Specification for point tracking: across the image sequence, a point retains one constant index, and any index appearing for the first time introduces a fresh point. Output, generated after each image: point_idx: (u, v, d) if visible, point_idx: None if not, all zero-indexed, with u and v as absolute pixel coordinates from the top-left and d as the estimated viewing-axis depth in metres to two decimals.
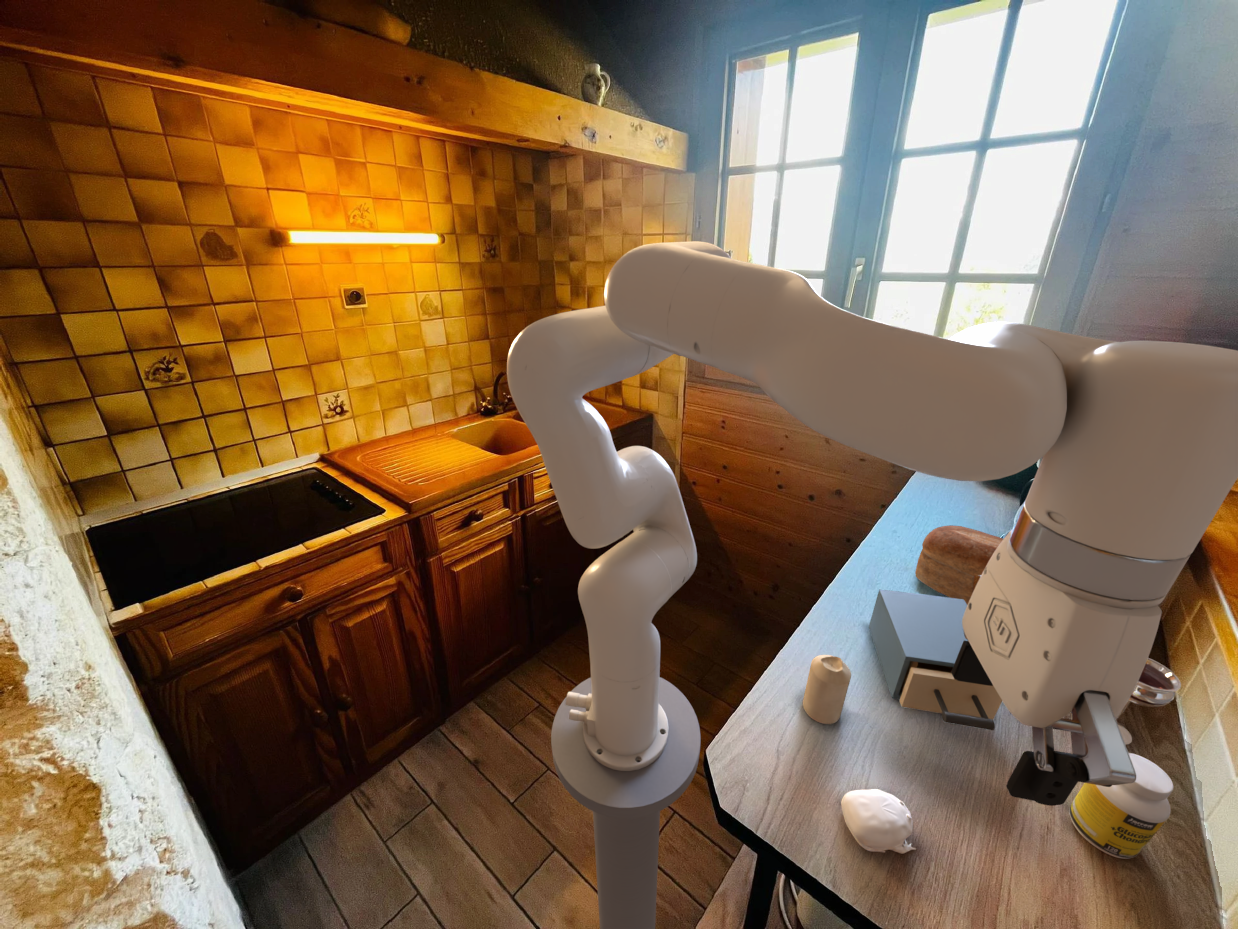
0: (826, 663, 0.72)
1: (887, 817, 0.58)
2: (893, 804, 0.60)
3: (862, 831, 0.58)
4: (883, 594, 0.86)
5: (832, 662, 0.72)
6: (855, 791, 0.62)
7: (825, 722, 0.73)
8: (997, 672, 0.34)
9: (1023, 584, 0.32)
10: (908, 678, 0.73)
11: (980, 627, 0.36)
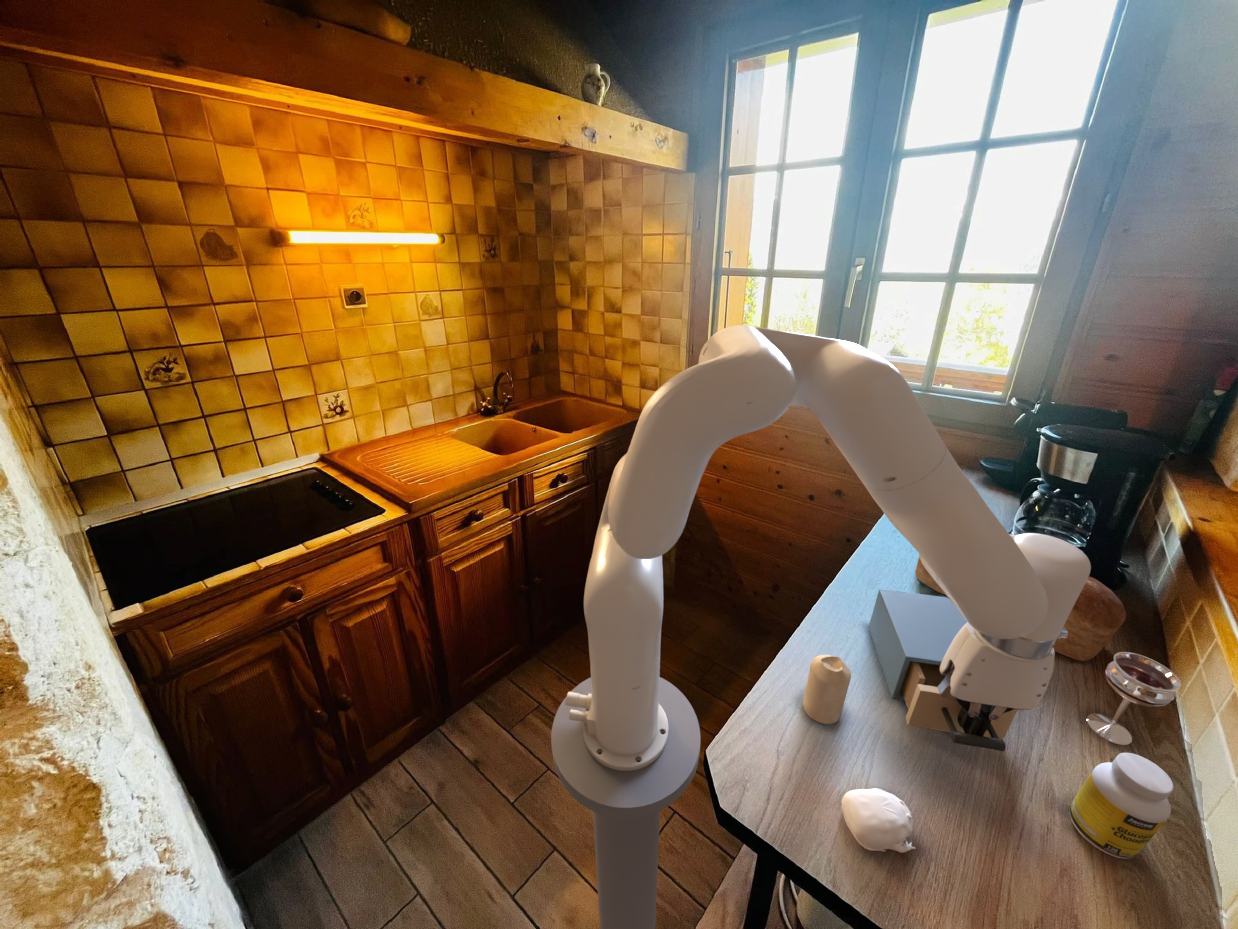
0: (826, 663, 0.72)
1: (887, 817, 0.58)
2: (893, 804, 0.60)
3: (863, 830, 0.58)
4: (883, 594, 0.86)
5: (832, 662, 0.72)
6: (855, 790, 0.62)
7: (825, 722, 0.73)
8: None
9: None
10: (915, 695, 0.71)
11: None
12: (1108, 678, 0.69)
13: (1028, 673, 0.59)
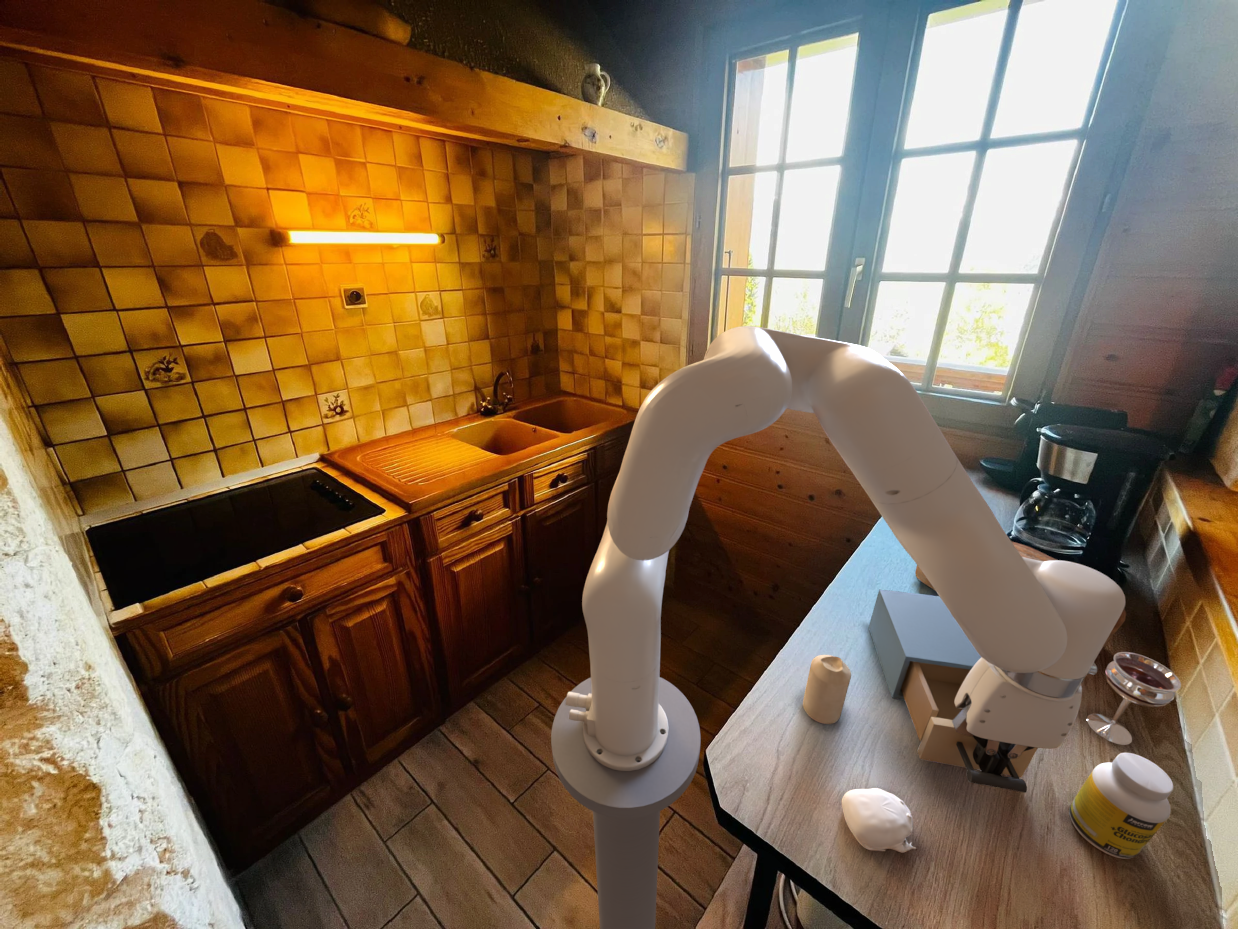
0: (826, 663, 0.72)
1: (887, 816, 0.58)
2: (893, 803, 0.60)
3: (863, 830, 0.58)
4: (883, 594, 0.86)
5: (832, 662, 0.72)
6: (855, 790, 0.62)
7: (825, 722, 0.73)
8: None
9: None
10: (927, 728, 0.66)
11: None
12: (1108, 678, 0.69)
13: (1052, 711, 0.54)
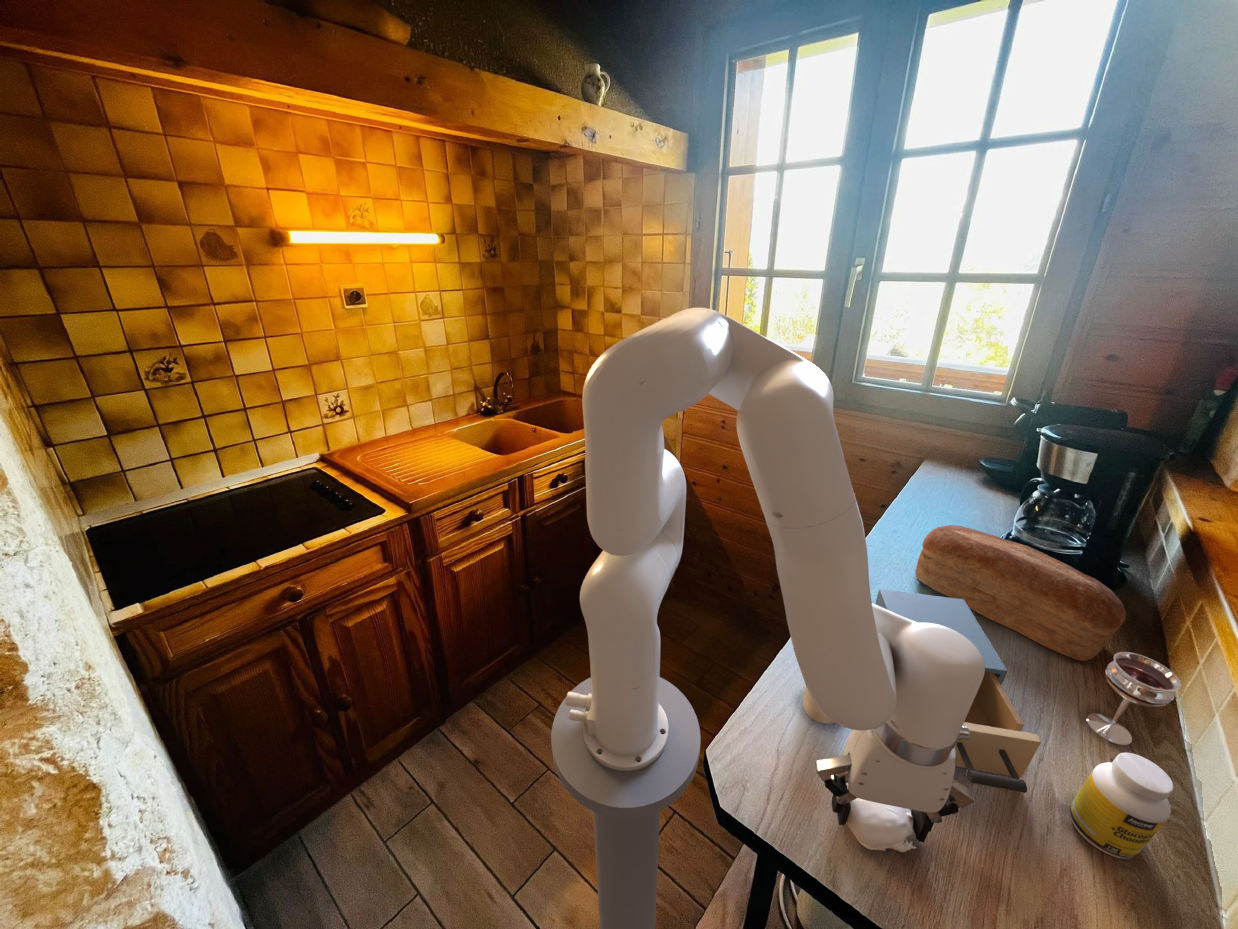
0: None
1: (888, 816, 0.58)
2: None
3: (863, 829, 0.58)
4: (883, 594, 0.86)
5: None
6: None
7: (825, 722, 0.73)
8: None
9: None
10: None
11: None
12: (1108, 678, 0.69)
13: (927, 777, 0.52)
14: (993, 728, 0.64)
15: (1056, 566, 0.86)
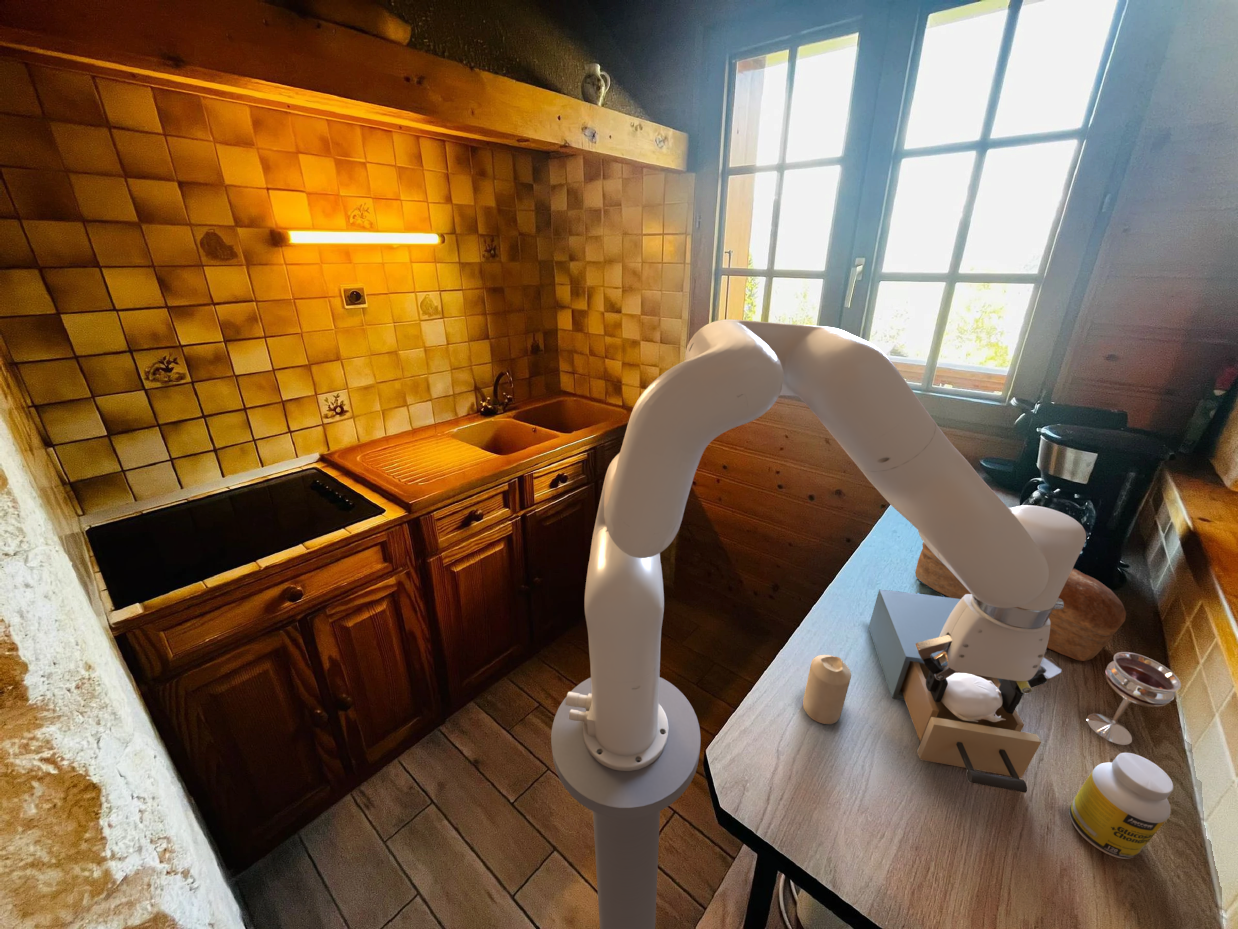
0: (826, 663, 0.72)
1: (980, 691, 0.66)
2: (983, 682, 0.67)
3: (959, 702, 0.65)
4: (883, 594, 0.86)
5: (832, 662, 0.72)
6: None
7: (825, 722, 0.73)
8: None
9: None
10: (927, 729, 0.66)
11: None
12: (1108, 678, 0.69)
13: (1024, 644, 0.60)
14: (993, 728, 0.64)
15: None
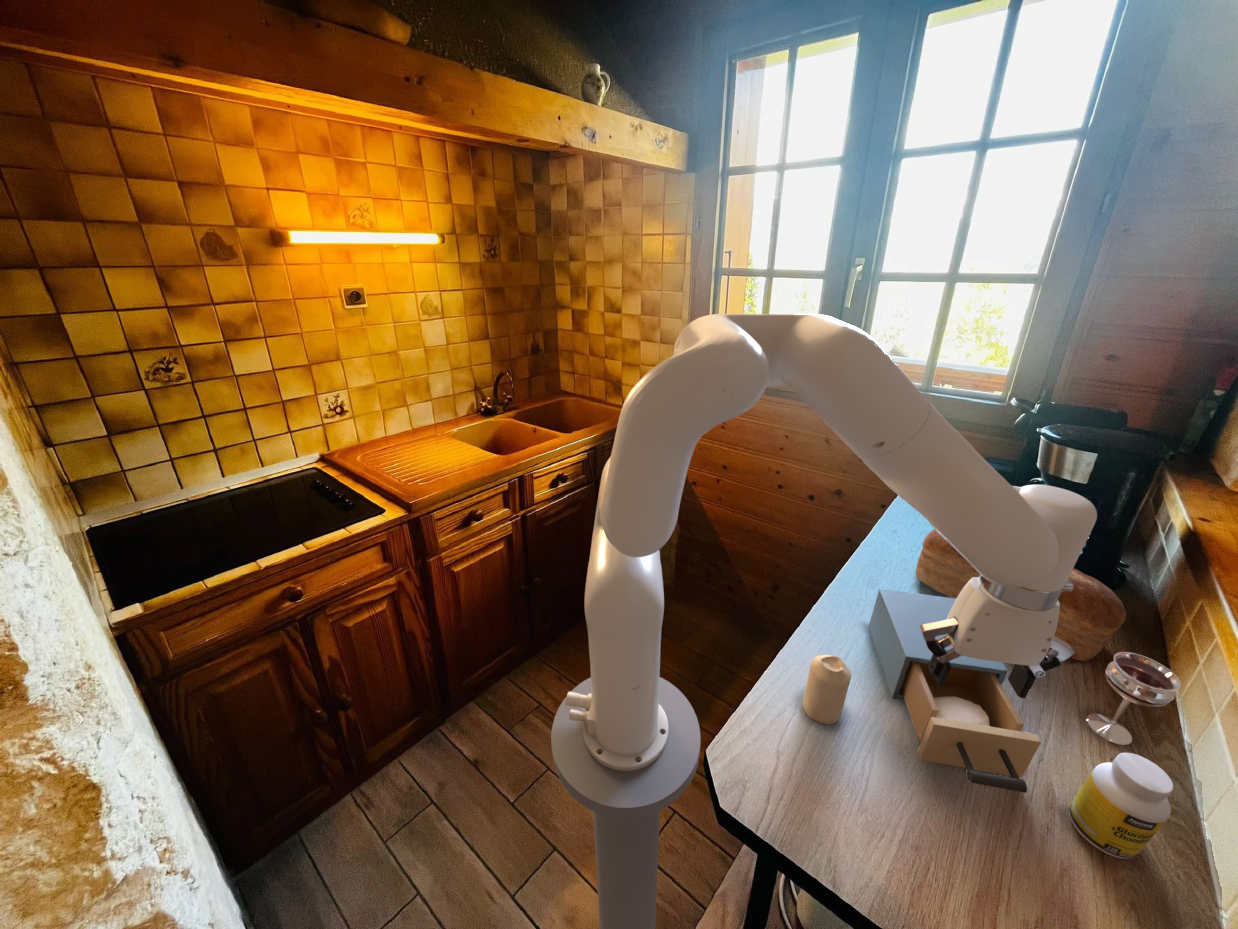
0: (826, 663, 0.72)
1: (968, 715, 0.68)
2: (971, 707, 0.70)
3: None
4: (883, 594, 0.86)
5: (832, 662, 0.72)
6: (936, 697, 0.72)
7: (825, 722, 0.73)
8: None
9: None
10: (927, 729, 0.66)
11: None
12: (1108, 678, 0.69)
13: (1033, 627, 0.59)
14: (993, 728, 0.64)
15: None
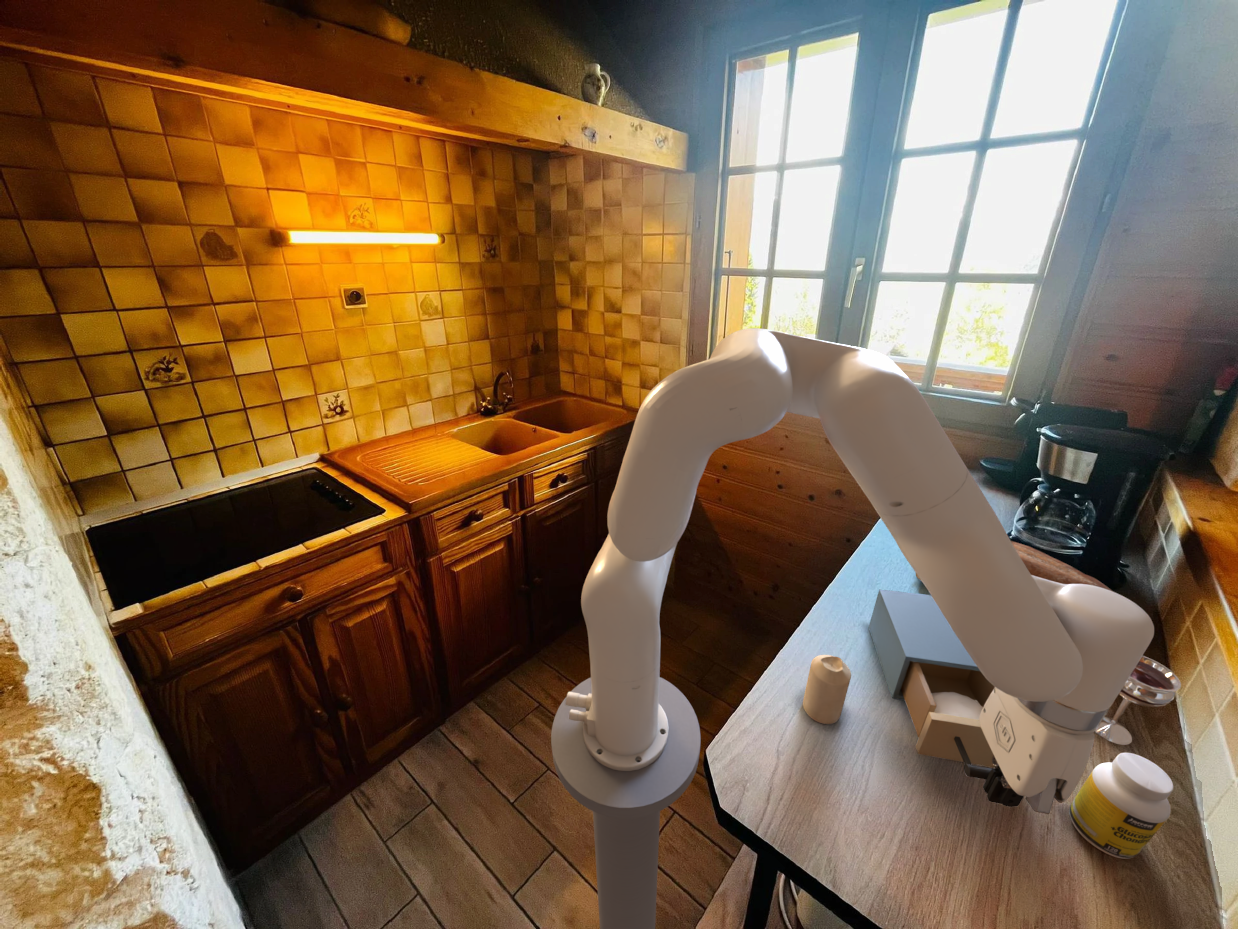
0: (826, 663, 0.72)
1: (965, 710, 0.69)
2: (969, 702, 0.70)
3: None
4: (883, 594, 0.86)
5: (832, 662, 0.72)
6: (934, 693, 0.72)
7: (825, 722, 0.73)
8: (1002, 759, 0.55)
9: (1018, 709, 0.53)
10: (925, 723, 0.67)
11: (991, 727, 0.58)
12: None
13: None
14: None
15: (1057, 566, 0.86)
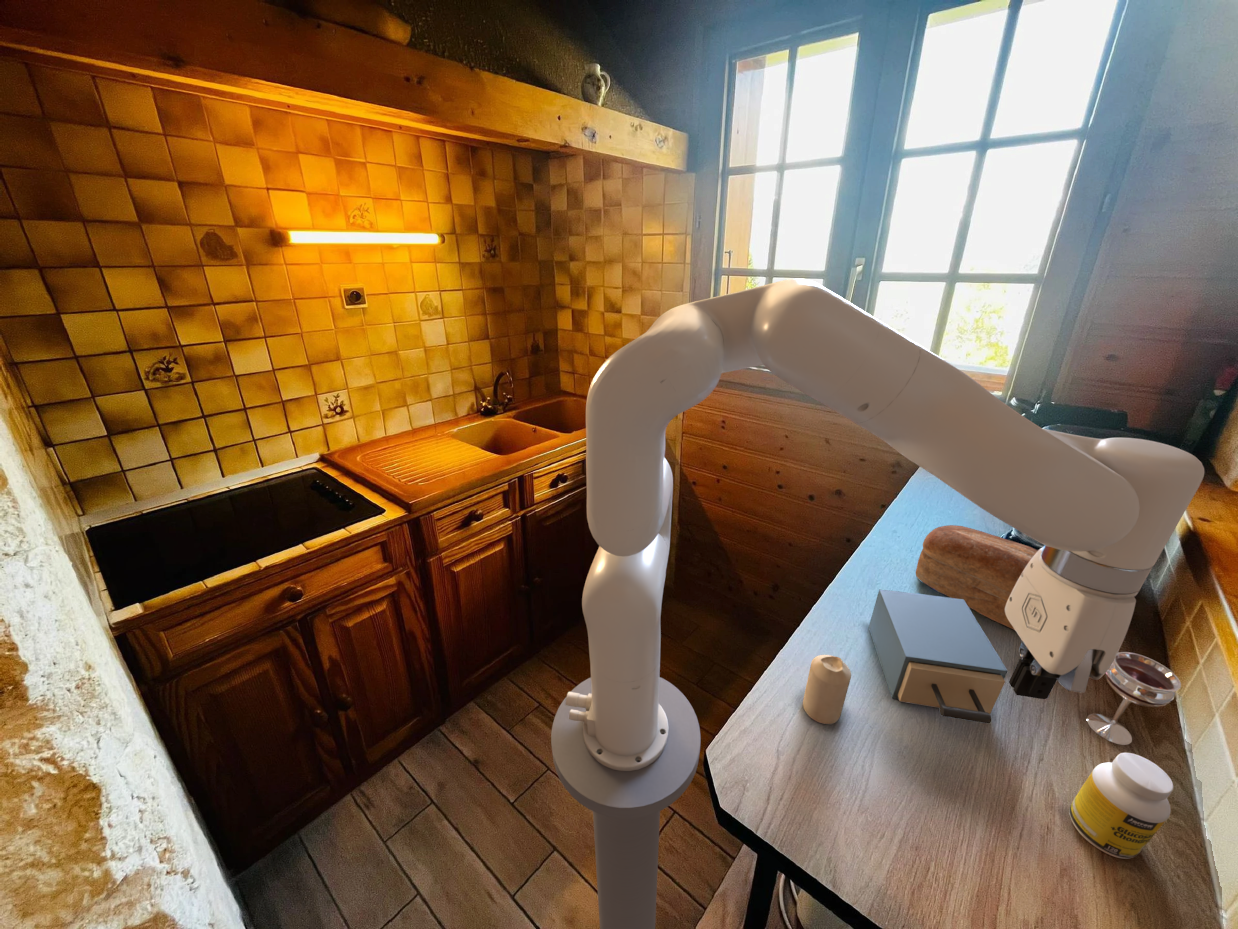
0: (826, 663, 0.72)
1: None
2: None
3: None
4: (883, 594, 0.86)
5: (832, 662, 0.72)
6: None
7: (825, 722, 0.73)
8: (1032, 641, 0.52)
9: (1050, 584, 0.50)
10: (906, 673, 0.74)
11: (1019, 613, 0.54)
12: (1108, 678, 0.69)
13: None
14: (963, 670, 0.72)
15: None
